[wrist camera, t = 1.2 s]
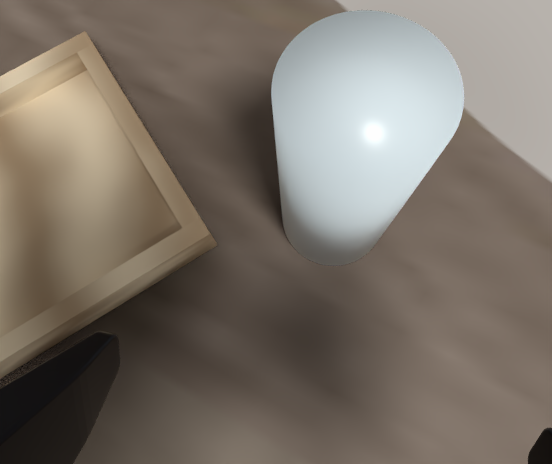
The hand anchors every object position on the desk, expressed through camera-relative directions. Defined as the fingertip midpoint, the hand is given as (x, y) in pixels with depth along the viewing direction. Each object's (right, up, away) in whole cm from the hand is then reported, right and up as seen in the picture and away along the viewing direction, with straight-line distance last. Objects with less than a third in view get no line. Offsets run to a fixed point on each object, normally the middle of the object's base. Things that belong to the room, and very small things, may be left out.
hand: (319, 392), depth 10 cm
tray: (-15, +4, +15) cm, 22 cm away
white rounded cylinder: (+2, +4, +15) cm, 16 cm away
